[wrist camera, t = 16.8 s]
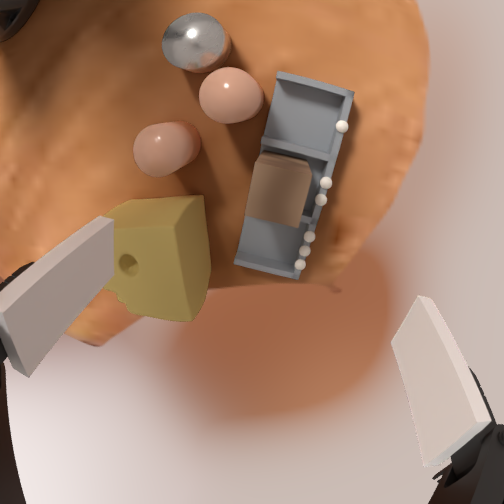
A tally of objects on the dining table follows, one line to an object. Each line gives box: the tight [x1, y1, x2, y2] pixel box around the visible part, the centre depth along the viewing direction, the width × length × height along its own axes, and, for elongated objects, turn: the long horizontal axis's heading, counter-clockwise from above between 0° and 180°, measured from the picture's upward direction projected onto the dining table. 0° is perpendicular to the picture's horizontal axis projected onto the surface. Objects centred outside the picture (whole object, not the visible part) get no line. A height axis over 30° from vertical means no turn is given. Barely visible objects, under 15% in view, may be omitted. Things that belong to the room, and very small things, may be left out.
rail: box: [234, 71, 355, 280], centre depth 30 cm, size 21×8×3 cm, turn 168°
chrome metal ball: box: [162, 13, 231, 73], centre depth 24 cm, size 6×6×4 cm
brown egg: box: [133, 121, 201, 177], centre depth 28 cm, size 5×5×6 cm
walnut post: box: [244, 150, 312, 228], centre depth 27 cm, size 4×4×8 cm
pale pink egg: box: [199, 67, 264, 123], centre depth 25 cm, size 5×5×6 cm
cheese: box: [102, 195, 211, 322], centre depth 32 cm, size 10×11×10 cm
